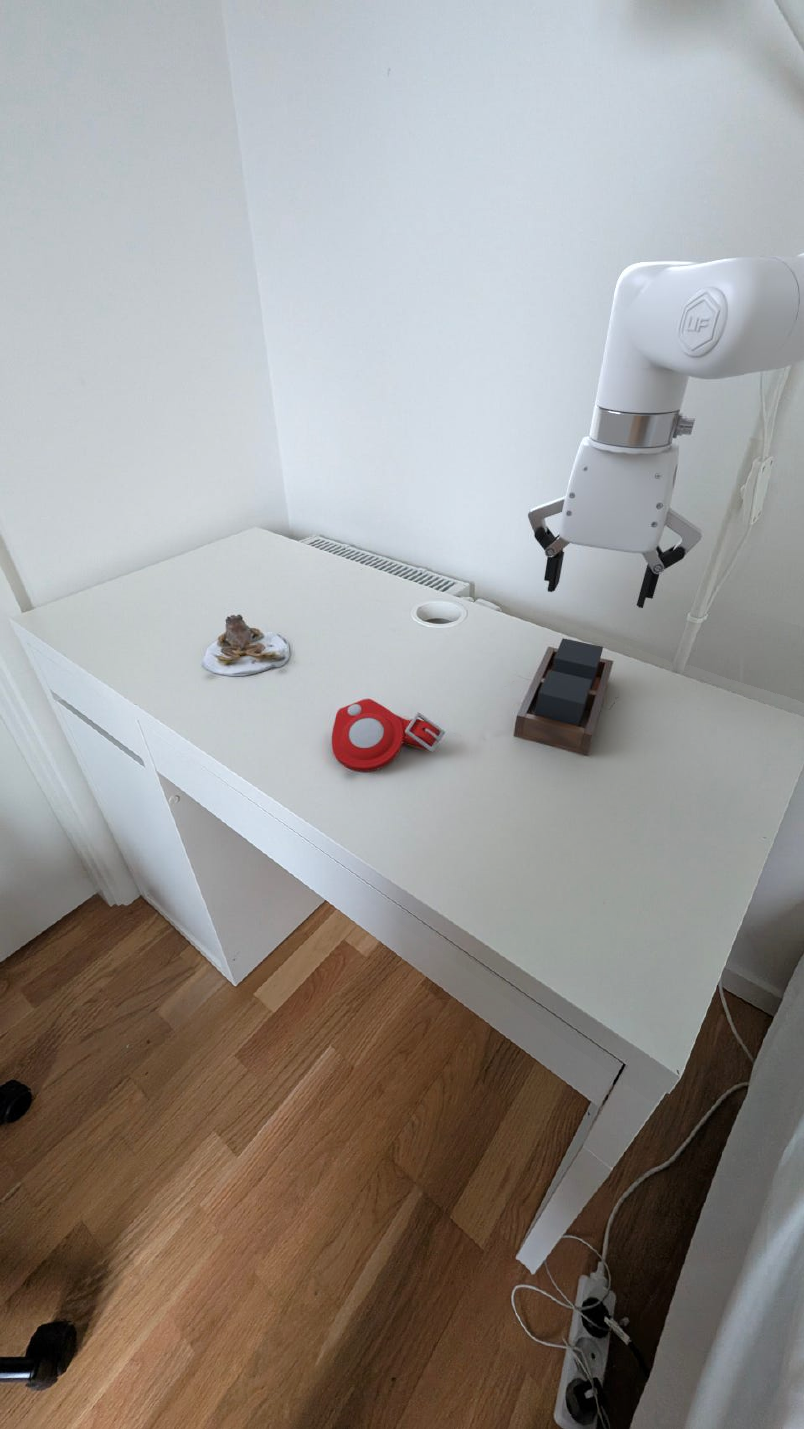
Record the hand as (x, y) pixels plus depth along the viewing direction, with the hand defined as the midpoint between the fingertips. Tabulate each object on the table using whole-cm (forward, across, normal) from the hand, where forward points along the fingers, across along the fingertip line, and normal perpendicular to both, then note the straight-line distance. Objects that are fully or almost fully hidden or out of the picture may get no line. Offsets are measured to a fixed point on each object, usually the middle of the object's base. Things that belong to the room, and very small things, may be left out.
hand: (595, 594), depth 65 cm
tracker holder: (+14, +18, +19) cm, 30 cm away
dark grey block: (+13, +1, 0) cm, 13 cm away
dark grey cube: (+13, +1, +7) cm, 15 cm away
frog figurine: (+13, +44, +9) cm, 47 cm away
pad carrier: (+14, +1, +3) cm, 14 cm away
